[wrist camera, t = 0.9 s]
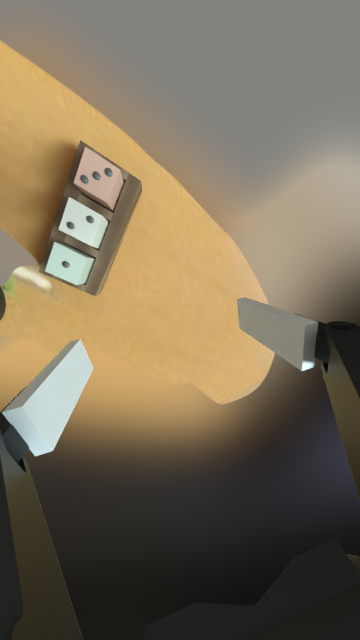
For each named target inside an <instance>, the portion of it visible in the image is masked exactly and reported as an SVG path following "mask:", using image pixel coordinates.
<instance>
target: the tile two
mask: <svg viewBox="0 0 360 640" xmlns="http://www.w3.org/2000/svg"><path fill="white" fill-rule="evenodd" d="M108 226H109V222H108V221H107V220H106V219H105V218H104V217H103V216H102V215H100V214H98V213H97V212H95V211H93V210H91V209H90V208H88V207H86V206H84V205H83V204H81V203H79V202H77V201H76V200H74V199H72V198H70V197H69V198H68V202H67V205H66V208H65V211H64V214H63V217H62V220H61V223H60V226H59V229H58V230H60V231H62V232H64V233H66V234H68V235H70V236H72V237H74V238H76V239H78V240H80V241H82V242H84V243H86V244H88V245H90V246H92V247H95V248H98V249H100V247H101V244H102V241H103V239H104V236H105V234H106V231H107V228H108Z"/></svg>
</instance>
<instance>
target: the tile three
mask: <svg viewBox="0 0 360 640" xmlns="http://www.w3.org/2000/svg"><path fill="white" fill-rule="evenodd" d="M74 184H75V185H76V186H77V187H78V188H79V189H80V191H81V192H82V193H83V194H84V195H85V196H86V197H88V198H90V199H91V200H93V201H95V202H97V203H98V204H100V205H102V206H103V207H105V208H107V209H108V210H110V211H112V212H114V210H115V207H116V205H117V202H118V200H119V197H120V194H121V192H122V189H123V187H124V181H123V178H122V174H121V171H120V169H118V168H117V167H115V166H114V165H112V164H111V163H109V162H108V161H106V160H105V159H103V158H102V157H100V156H99V155H97V154H96V153H94V152H93V151H91V150H90V149H88V148H87V147H85V149H84V152H83V155H82V158H81V161H80V164H79V168H78V171H77V174H76V177H75V180H74Z"/></svg>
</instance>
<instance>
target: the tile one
mask: <svg viewBox="0 0 360 640" xmlns="http://www.w3.org/2000/svg"><path fill="white" fill-rule="evenodd" d="M95 260H96V259H95V258H93V257H91V256H89V255H87V254H85V253H83V252H81V251H79V250H77V249H75V248H73V247H71V246H69V245H65V244H61V243H57V242H54V245H53V248H52V251H51V254H50V257H49V260H48V263H47V266H46V269H45V272H48V273H50V274H52V275H54V276H57V277H59V278H61V279H64V280H66V281H68V282H71V283H73V284H75V285H80V284H84V283H87V281H88V278H89V275H90V273H91V270H92V268H93V265H94V262H95Z"/></svg>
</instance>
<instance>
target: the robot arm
mask: <svg viewBox="0 0 360 640" xmlns="http://www.w3.org/2000/svg"><path fill="white" fill-rule="evenodd" d="M237 303H238V315H239V327H240V329H241V330H243V331H244V332H246V333H247V334H249V335H250V336H252V337H253V338H255V339H256V340H257V341H259V342H260V343H262V344H263V345H265V346H266V347H268V348H269V349H271V350H272V351H274V352H275V353H277V354H278V355H280V356H281V357H282V358H284V359H286V360H287V361H288V362H290V363H291V364H293V365H294V366H295V367H297V368H298V369H300V370H301V371H303V370H306V369H310V368H313V367H314V362H315V358H317V359H319V360H321V361H322V363H321V371H320V379H322V378H323V376H324V379H325V383H326V386H327V389H328V393H329V396H330V400H331V404H332V407H333V411H334V414H335V418H336V421H337V424H338V428H339V431H340V435H341V438H342V442H343V445H344V448H345V452H346V456H347V459H348V462H349V466H350V469H351V473H352V476H353V480H354V483H355V487H356V490H357V494H358V497H359V500H360V326H359V325H357V324H355V323H350V322H344V321H333V322H329V323H327V324H325V323H322V322H319V321H316V320H313V319H310V318H306V317H304V316H301V315H298V314H295V313H290V312H287V311H284V310H282V309H278V308H276V307H273V306H270V305H267V304H264V303H261V302H258V301H255V300H252V299H249V298H246V297H245V298H241V299H237ZM5 306H6V303H5V297H4V294H3V291H2V289H1V287H0V320H1V319H2V317H3V315H4V312H5ZM93 369H94V368H93V366H92V363H91V361H90V359H89V357H88V355H87V352H86V350H85V348H84V346H83V344H82V341H81V339H79V340H75V341H71V342H69V343H68V344H67V345H66V346H65V347H64V349H63V350H62V351H61V352H60V353H59V354H58V355H57V356H56V357H55V358H54V359H53V360H52V361H51V362H50V363H49V364H48V365H47V366H46V367H45V368H44V369H43V370H42V371H41V372H40V373H39V374H38V375H37V376H36V378H35V379H34V380H33V381H32V382H31V383H30V384H29V385H28V386H26V387H25V388H24V389H23V390H22V391H21V392H20V393H19V394H18V395H17V397H15V398H14V399H13V400H12V401H11V403H9V404H8V405H7V406H6V407H5V408H4V409H3V410H2V411H1V412H0V640H83V639H82V635H81V632H80V629H79V626H78V623H77V619H76V617H75V613H74V610H73V607H72V603H71V600H70V597H69V594H68V591H67V588H66V584H65V581H64V578H63V575H62V572H61V568H60V565H59V562H58V559H57V556H56V552H55V549H54V546H53V543H52V540H51V536H50V533H49V530H48V527H47V524H46V521H45V517H44V514H43V511H42V508H41V505H40V501H39V498H38V495H37V492H36V489H35V485H34V482H33V479H32V476H31V473H30V470H29V466H28V463H27V461H26V460H25V459H24V458H23V456H24V454H25V453H26V451H27V449H28V448H29V449H30V450H31V451H32V453H33V454H34V455H35V456H38V455H41V454H44V453H47V452H50V451H53V449H54V447H55V445H56V443H57V441H58V439H59V437H60V435H61V433H62V431H63V429H64V427H65V425H66V423H67V421H68V419H69V417H70V414H71V413H72V411H73V409H74V407H75V404H76V403H77V401H78V399H79V396H80V395H81V393H82V391H83V389H84V387H85V385H86V383H87V381H88V379H89V377H90V375H91V373H92V371H93ZM145 640H360V557H357V556H353V555H346V553H345V552H344V551H343V549H342V547H341V546H340V545H339V543H338V542H337V540H336V539H333V540H331V541H329V542H327V543H325V544H323V545H320V546H318V547H316V548H314V549H312V550H310V551H307V552H305V553H303V554H301V555H299V556H297V557H294V558H293V559H292V561H291V562H290V563H289V564H288V566H287V567H286V568H285V569H284V571H283V572H282V573H281V574H280V576H279V577H278V578H277V579H276V581H275V582H274V583H273V584H272V586H271V587H270V588H269V590H268V591H267V592H266V593H265V595H264V596H263V597H262V598H261V600H260V601H259V602H258V603H257V604H255V605H252V606H242V605H241V606H240V605H226V604H209V603H195V604H193V605H190V606H188V607H186V608H184V609H182V610H180V611H178V612H176V613H173V614H171V615H169V616H167V617H165V618H163V619H160V620H158V621H156V622H154V623H152V624H149V625H147V626H145Z"/></svg>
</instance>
